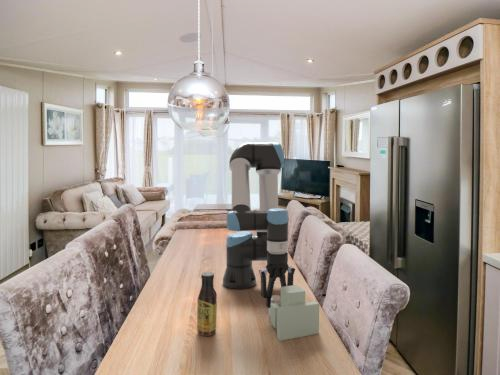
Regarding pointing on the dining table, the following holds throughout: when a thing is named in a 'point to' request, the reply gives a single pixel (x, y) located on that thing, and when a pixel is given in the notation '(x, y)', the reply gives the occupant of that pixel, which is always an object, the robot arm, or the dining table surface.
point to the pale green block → (294, 314)
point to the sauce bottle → (207, 306)
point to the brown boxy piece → (276, 299)
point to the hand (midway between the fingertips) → (276, 314)
